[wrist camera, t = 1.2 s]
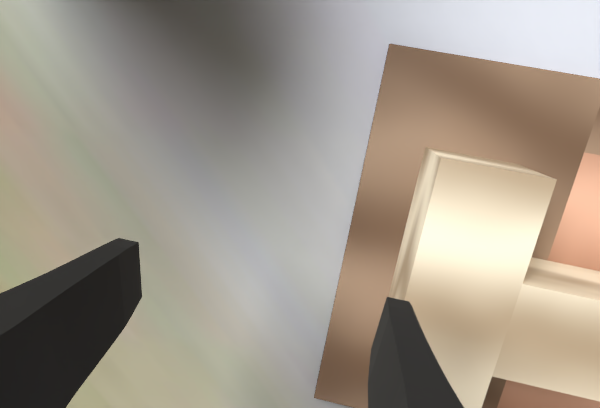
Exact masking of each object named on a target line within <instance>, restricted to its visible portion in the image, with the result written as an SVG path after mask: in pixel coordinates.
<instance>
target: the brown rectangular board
mask: <svg viewBox="0 0 600 408" xmlns="http://www.w3.org/2000/svg"><path fill="white" fill-rule="evenodd" d="M425 147H429V148H434V149H439V150H445V151H450V152H455V153H461V154H466V155H471V156H477V157H482V158H487V159H493V160H498V161H503V162H509V163H514V164H518V165H521V166H523V167H526V168H528V169H531V170H534V171H536V172H539V173H541V174H544V175H546V176H549V177H551V178H554V179H557V181H556V184H555V187H554V190H553V193H552V196H551V199H550V202H549V205H548V208H547V212H546V215H545V218H544V221H543V224H542V227H541V230H540V233H539V236H538V239H537V242H536V245H535V248H534V251H533V254H532V257H533V258H537V259H542V260H547V261H552V262H557V263H562V264H566V265H571V266H576V267H581V268H586V269H591V270H596V271H600V79H598V78H592V77H586V76H580V75H574V74H568V73H562V72H556V71H550V70H544V69H538V68H532V67H526V66H520V65H514V64H508V63H502V62H496V61H490V60H484V59H478V58H472V57H466V56H460V55H454V54H448V53H442V52H436V51H430V50H424V49H418V48H412V47H406V46H400V45H394V44H389V48H388V53H387V57H386V62H385V67H384V71H383V76H382V81H381V85H380V90H379V95H378V99H377V104H376V109H375V113H374V118H373V123H372V127H371V132H370V137H369V142H368V146H367V151H366V156H365V160H364V165H363V170H362V174H361V179H360V184H359V188H358V193H357V198H356V202H355V207H354V212H353V216H352V221H351V226H350V230H349V235H348V240H347V244H346V249H345V254H344V259H343V263H342V268H341V273H340V277H339V282H338V287H337V291H336V296H335V301H334V305H333V310H332V315H331V319H330V324H329V329H328V333H327V338H326V343H325V347H324V352H323V357H322V362H321V366H320V371H319V376H318V380H317V385H316V390H315V395H314V398H317V399H321V400H325V401H329V402H333V403H337V404H341V405H345V406H349V407H353V408H368V375H369V364H370V354H371V347H372V344H373V341H374V337H375V334H376V331H377V328H378V324H379V321H380V318H381V314H382V311H383V308H384V304H385V301H386V298H387V297H388V296H389V292H390V288H391V284H392V280H393V276H394V272H395V268H396V264H397V260H398V256H399V252H400V247H401V243H402V239H403V235H404V231H405V227H406V223H407V219H408V215H409V211H410V207H411V203H412V199H413V195H414V191H415V187H416V183H417V179H418V175H419V171H420V167H421V163H422V159H423V155H424V151H425ZM482 408H600V402H599V401H595V400H591V399H587V398H582V397H578V396H574V395H569V394H565V393H561V392H557V391H552V390H548V389H544V388H540V387H535V386H531V385H527V384H523V383H518V382H514V381H510V380H505V379H501V378H497V377H493V376H492V378H491V381H490V384H489V387H488V390H487V393H486V396H485V399H484V402H483V405H482Z"/></svg>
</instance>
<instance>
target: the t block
mask: <svg viewBox="0 0 600 408" xmlns="http://www.w3.org/2000/svg"><path fill="white" fill-rule="evenodd" d="M556 181H557V179H554V178H551V177H549V176H546V175H544V174H541V173H539V172H536V171H534V170H531V169H528V168H526V167H523V166H521V165H518V164H514V163H509V162H503V161H498V160H493V159H487V158H482V157H477V156H471V155H466V154H461V153H455V152H450V151H445V150H439V149H434V148H429V147H425V151H424V155H423V159H422V163H421V167H420V171H419V175H418V179H417V183H416V187H415V191H414V195H413V199H412V203H411V207H410V211H409V215H408V219H407V223H406V227H405V231H404V235H403V239H402V243H401V247H400V252H399V256H398V260H397V264H396V268H395V272H394V276H393V280H392V284H391V288H390V292H389V296H388V297H391V298H395V299H400V300H405V301H409V302H410V303H411V305H412V307H413V309H414V312H415V314H416V317H417V319H418V321H419V324H420V326H421V328H422V331H423V333H424V335H425V337H426V339H427V341H428V343H429V345H430V347H431V350H432V352H433V353H434V355H435V357H436V359H437V361H438V363H439V365H440V367H441V369H442V371H443V373H444V374H445V376H446V378H447V380H448V382H449V383H450V385H451V387H452V388H453V390H454V392H455V393H456V395H457V397H458V399H459V400H460V402H461V403H462V405H463V407H464V408H482V405H483V402H484V399H485V396H486V393H487V390H488V387H489V384H490V381H491V378H492V376H493V377H497V378H501V379H505V380H510V381H514V382H518V383H523V384H527V385H531V386H535V387H540V388H544V389H548V390H552V391H557V392H561V393H565V394H569V395H574V396H578V397H582V398H587V399H591V400H595V401H599V402H600V271H596V270H591V269H586V268H581V267H576V266H571V265H566V264H562V263H557V262H552V261H547V260H542V259H537V258H533V257H532V254H533V251H534V248H535V245H536V242H537V239H538V236H539V233H540V230H541V227H542V224H543V221H544V218H545V215H546V212H547V208H548V205H549V202H550V199H551V196H552V193H553V190H554V187H555V184H556Z"/></svg>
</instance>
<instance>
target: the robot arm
mask: <svg viewBox="0 0 600 408" xmlns="http://www.w3.org/2000/svg"><path fill="white" fill-rule="evenodd" d="M141 297H142V290H141V274H140V258H139V242H134V241H130V240H125V239H121V238H118V239H116V240H113V241H111V242H109V243H107V244H105V245H103V246H101V247H98V248H96V249H94V250H92V251H90V252H88V253H86V254H84V255H82V256H80V257H78V258H76V259H74V260H72V261H70V262H68V263H66V264H64V265H62V266H60V267H58V268H56V269H54V270H52V271H50V272H48V273H46V274H43V275H41V276H39V277H37V278H34V279H32V280H30V281H28V282H25V283H23V284H21V285H19V286H16V287H14V288H12V289H10V290H7V291H5V292H2V293H0V408H66V406H67V405H68V403H69V402H70V401H71V399H72V398H73V396H74V395H75V393H76V392H77V391H78V389H79V388H80V387H81V385H82V384H83V383H84V381H85V380H86V379H87V377H88V376H89V375H90V373H91V372H92V371H93V369H94V368H95V367H96V365H97V364H98V363H99V361H100V360H101V359H102V357H103V356H104V355H105V353H106V352H107V351H108V349H109V348H110V347H111V345H112V344H113V343H114V341H115V340H116V338H117V337H118V336H119V334H120V333H121V332H122V330H123V329H124V327H125V326H126V324H127V323H128V321H129V319H130V317H131V316H132V314H133V312H134V310H135V308H136V307H137V305H138V303H139V301H140V299H141ZM368 408H464V407H463V405H462V403H461V402H460V400H459V399H458V397H457V395H456V393H455V392H454V390H453V388H452V387H451V385H450V383H449V382H448V380H447V378H446V376H445V374H444V373H443V371H442V369H441V367H440V365H439V363H438V361H437V359H436V357H435V355H434V353H433V352H432V350H431V347H430V345H429V343H428V341H427V339H426V337H425V335H424V333H423V331H422V328H421V326H420V324H419V321H418V319H417V317H416V314H415V312H414V309H413V307H412V305H411V303H410V302H409V301H405V300H400V299H395V298H391V297H387V298H386V301H385V304H384V308H383V311H382V314H381V318H380V321H379V324H378V328H377V331H376V334H375V337H374V341H373V344H372V347H371V354H370V364H369V375H368Z"/></svg>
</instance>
